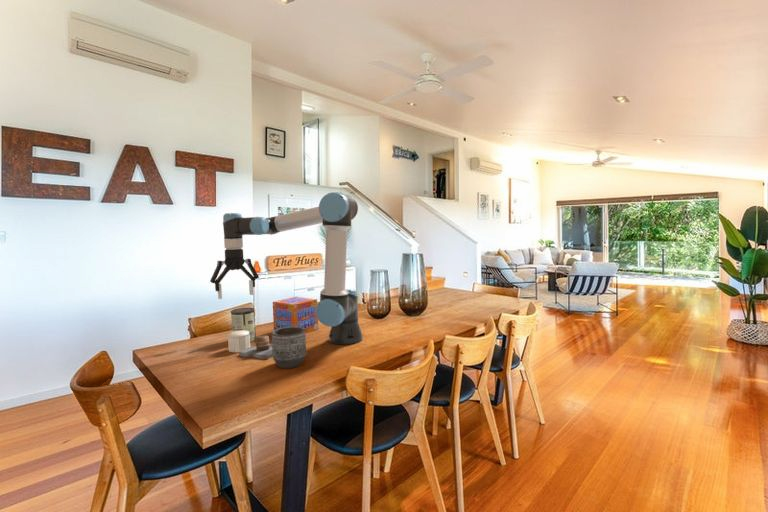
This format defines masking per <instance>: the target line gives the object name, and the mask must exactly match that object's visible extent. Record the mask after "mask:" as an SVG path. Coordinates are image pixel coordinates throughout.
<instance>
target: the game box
mask: <svg viewBox="0 0 768 512" xmlns="http://www.w3.org/2000/svg"><path fill="white" fill-rule="evenodd" d="M317 305H318V299H317V298H310V297H302V296H294V297H288V298H283V299H280V300H278V299H277V300H274V301H272V319H273V331H274V330H276V329H279V328H283V327H302V328H304V329H305V334H308V333H310V332H314V331H317V330H319V320H318V318H317V316H316V307H317Z"/></svg>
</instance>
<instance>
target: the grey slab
mask: <svg viewBox="0 0 768 512" xmlns="http://www.w3.org/2000/svg"><path fill="white" fill-rule="evenodd" d="M238 356H239V357H247V358H255V359H263V360H269V359H270V358H273V355H272V344H270V337H269V335H258V336H256V339H255V345H251V346H250V348H247V349H245V350H243V351H240V352H238Z"/></svg>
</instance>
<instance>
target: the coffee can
mask: <svg viewBox="0 0 768 512" xmlns="http://www.w3.org/2000/svg"><path fill="white" fill-rule="evenodd" d="M230 314H231V315H230V316H231V317H230V318H231V332H234V331H241V330H246V331H249V334H250V342H254V341H256V337H257V336H256V335H257V334H256V333H257V332H256V319H255V308H254V307H240V308H235V309H232V310H230Z"/></svg>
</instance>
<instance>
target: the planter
mask: <svg viewBox="0 0 768 512" xmlns="http://www.w3.org/2000/svg"><path fill="white" fill-rule="evenodd" d="M306 340H307V339H306V333H305V329H304V328H302V327H283V328H279V329H276V330H274V329H273V330H272V331H271V345H272V355H273V357H272V359H273V360H274V362H275V364H276V365H277V366H278V367H279V368H281V369H293V368H296V367H299V366H301V365H302V363H303V361H304V360H305V357H306V355H307V346H306V345H307V341H306Z"/></svg>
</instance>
